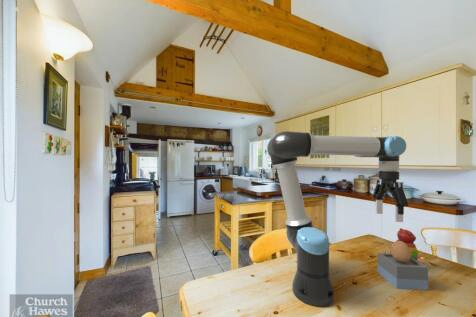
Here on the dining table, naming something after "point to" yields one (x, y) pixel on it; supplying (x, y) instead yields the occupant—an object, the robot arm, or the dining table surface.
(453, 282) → the dining table surface
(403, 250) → the egg
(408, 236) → the stacking bear
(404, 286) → the grey square tray
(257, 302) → the dining table surface
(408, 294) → the dining table surface
